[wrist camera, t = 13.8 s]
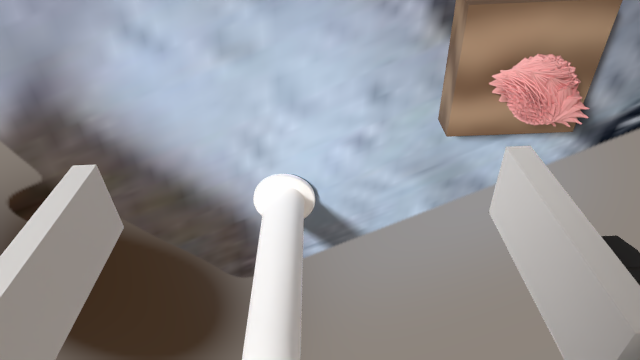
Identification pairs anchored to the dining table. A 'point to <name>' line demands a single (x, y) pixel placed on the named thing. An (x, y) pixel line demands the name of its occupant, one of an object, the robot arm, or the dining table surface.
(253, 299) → the candle
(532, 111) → the flower
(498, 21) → the walnut base
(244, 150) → the dining table surface
